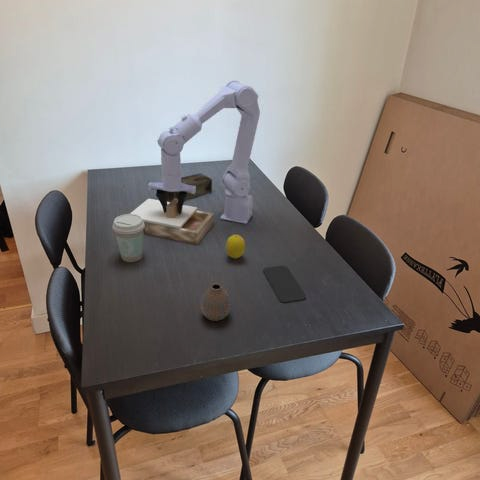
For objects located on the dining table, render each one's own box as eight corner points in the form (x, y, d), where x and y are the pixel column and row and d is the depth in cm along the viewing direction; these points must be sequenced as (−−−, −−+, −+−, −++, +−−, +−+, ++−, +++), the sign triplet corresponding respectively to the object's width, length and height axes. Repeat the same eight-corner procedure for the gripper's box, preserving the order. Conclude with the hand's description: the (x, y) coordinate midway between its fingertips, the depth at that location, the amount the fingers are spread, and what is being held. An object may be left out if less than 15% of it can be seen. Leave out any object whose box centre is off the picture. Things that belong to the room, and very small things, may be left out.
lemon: (240, 251, 117) (241, 228, 113) (247, 261, 113) (248, 238, 109) (222, 254, 115) (223, 231, 111) (229, 264, 111) (230, 241, 107)
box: (213, 224, 131) (213, 213, 129) (197, 244, 120) (197, 233, 117) (164, 214, 135) (164, 204, 133) (144, 233, 124) (143, 222, 121)
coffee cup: (111, 254, 112) (106, 218, 106) (138, 245, 117) (135, 210, 111) (124, 268, 107) (120, 230, 101) (152, 258, 112) (149, 222, 106)
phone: (280, 302, 98) (261, 268, 110) (280, 305, 98) (261, 270, 110) (307, 298, 100) (286, 265, 112) (307, 300, 100) (285, 267, 112)
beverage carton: (212, 193, 153) (213, 177, 150) (170, 205, 142) (169, 188, 139) (201, 186, 158) (201, 170, 155) (159, 197, 147) (158, 181, 144)
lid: (197, 209, 130) (197, 196, 128) (179, 228, 119) (179, 214, 116) (148, 200, 134) (147, 187, 132) (127, 218, 123) (125, 204, 120)
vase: (195, 317, 92) (194, 288, 87) (212, 302, 97) (213, 273, 92) (218, 329, 89) (219, 300, 84) (235, 313, 94) (237, 284, 89)
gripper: (197, 169, 121) (197, 208, 128) (151, 165, 121) (154, 204, 129) (193, 177, 115) (193, 218, 122) (144, 173, 115) (148, 214, 122)
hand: (173, 211), depth 125 cm, fingers open, 4 cm apart
